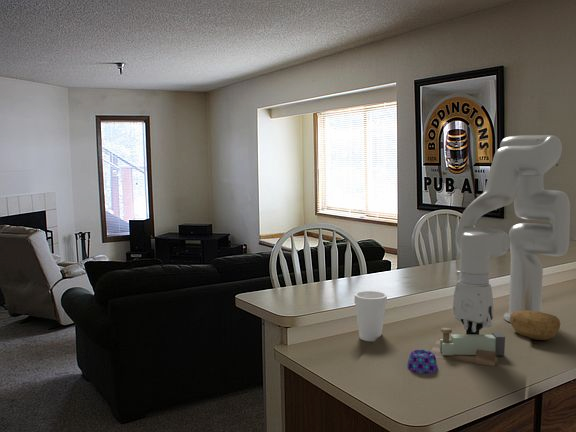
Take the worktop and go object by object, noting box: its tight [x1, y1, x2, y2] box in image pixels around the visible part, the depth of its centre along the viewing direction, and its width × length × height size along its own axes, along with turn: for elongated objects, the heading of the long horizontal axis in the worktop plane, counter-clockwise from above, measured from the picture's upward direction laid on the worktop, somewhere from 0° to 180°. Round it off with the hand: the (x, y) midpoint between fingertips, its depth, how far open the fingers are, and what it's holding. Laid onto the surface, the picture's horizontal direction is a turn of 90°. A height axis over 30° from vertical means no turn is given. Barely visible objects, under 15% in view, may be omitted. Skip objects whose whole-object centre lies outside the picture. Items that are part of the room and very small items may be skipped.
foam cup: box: [354, 290, 388, 342], centre depth 166 cm, size 10×9×13 cm
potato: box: [509, 310, 561, 341], centre depth 164 cm, size 10×14×8 cm
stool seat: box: [430, 327, 500, 367], centre depth 151 cm, size 16×17×8 cm
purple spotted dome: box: [406, 349, 439, 374], centre depth 140 cm, size 12×12×5 cm
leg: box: [440, 332, 506, 356], centre depth 149 cm, size 16×4×5 cm, turn 87°
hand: (472, 344), depth 153 cm, fingers closed
